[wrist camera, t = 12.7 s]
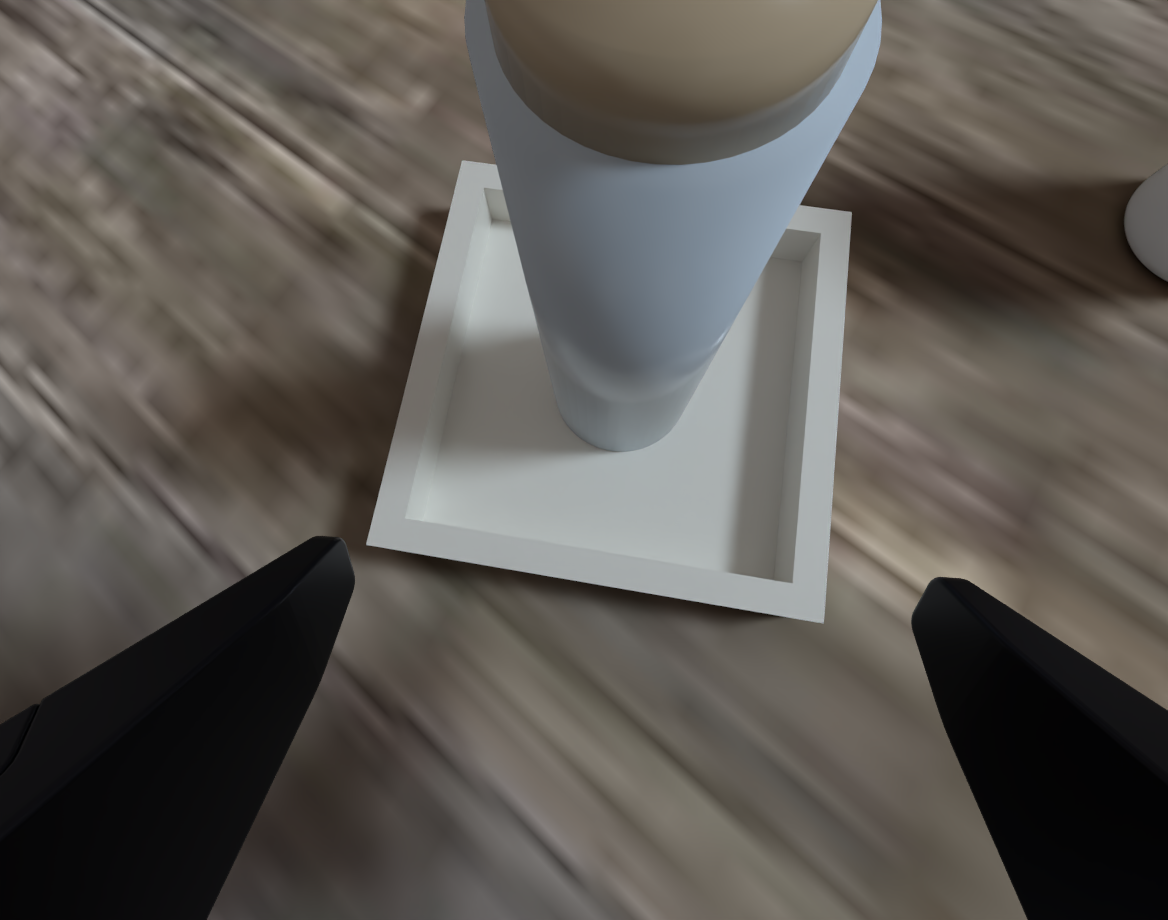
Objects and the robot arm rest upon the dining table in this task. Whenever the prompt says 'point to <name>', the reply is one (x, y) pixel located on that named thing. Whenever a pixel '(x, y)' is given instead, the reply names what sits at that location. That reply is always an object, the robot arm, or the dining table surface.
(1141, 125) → the dining table surface
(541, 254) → the spice jar
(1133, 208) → the drinking glass
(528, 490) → the white square dish
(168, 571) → the dining table surface
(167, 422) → the dining table surface
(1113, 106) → the dining table surface
